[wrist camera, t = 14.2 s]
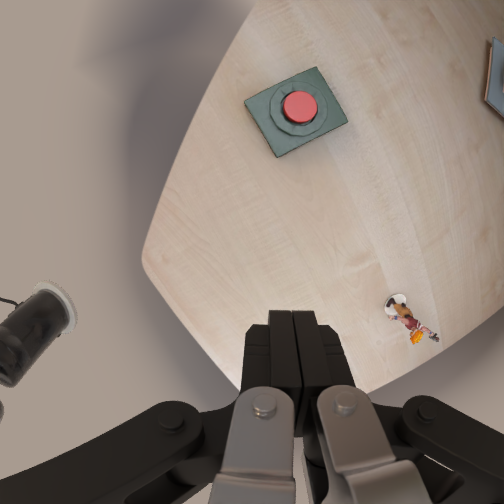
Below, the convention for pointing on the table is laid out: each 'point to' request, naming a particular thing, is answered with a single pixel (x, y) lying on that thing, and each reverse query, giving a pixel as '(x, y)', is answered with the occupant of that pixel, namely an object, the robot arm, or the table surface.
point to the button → (300, 107)
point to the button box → (280, 127)
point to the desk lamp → (496, 77)
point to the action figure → (406, 318)
